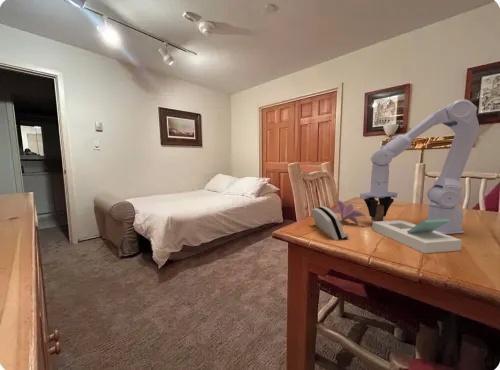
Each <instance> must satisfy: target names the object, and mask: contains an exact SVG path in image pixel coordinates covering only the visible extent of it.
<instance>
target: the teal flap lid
mask: <svg viewBox="0 0 500 370" xmlns="http://www.w3.org/2000/svg"><path fill="white" fill-rule="evenodd" d="M449 221H450V220H449V219H434V220H427V219H424V220H422V221H420V222H419V223H418V224H415V225H416V226H415V227H413V228H412V229H410V230H408V231H407V232H408V233H421V232H433V231H434V230H436V229H437V228H439V227H441V226H442V225H444V224H446V223H448V222H449Z"/></svg>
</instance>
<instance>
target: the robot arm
mask: <svg viewBox="0 0 500 370" xmlns="http://www.w3.org/2000/svg"><path fill="white" fill-rule="evenodd" d="M477 110H478V107H477V106H476V105H475V104H474V103H473V102H472V101H471V100H468V99H466V98H465V99H462V98H461V99H456V100H455V101H453V102H452V103H449V104H447V105H444V106H442V107H441V108H440V109H439V108H438V110H436V111H434V112H432V113H431V114H429V115H428V116H427V117H425V118H424V119H423V120H422V121H420V122H418V123H417V124H416V125H415V126H414V127H412V128H411V129H410V130H409V131H407V132H406V133H405V134H398V135H393V136H392V137H391V138H390V139H391V140H389V141H388V142H387V143H386V144H384V145H380V147H379V148H380V149H379V150H376V151H374V152H373V153H372V155H371V157H370V161H371V163H372V165H371V167H372V169H371V176H370V191H369V192H364V193H363V192H362V193H359V199H362V200H363V201H364V203H365V204H366V207H367V210H368V214H369V215H368V216H369V217H375V215H376V207H377V204H382V205H384V217H383V218H385V217H386V216H387V213H388V211H389V209H390V206H391V205H392V204H393V202H394V200H395V199H396V198H398V192H395V191H389V177H390V164H391V162H392V160H393V159H395V158H396V157H397V156H399V155H401V154H402V153H403V152H405V151H406V150H407V149H409V148H410V147H411V145H412V142H413V140H415V139H416V138H418V137H419V136H421V135H422V134H424V133H425V132H427V131H428V130H430V129H431V128H433V126H438V125H441V124H442V125H444V126H446V127H449V128H450V129H451V131H453V132H454V136H453V138H452V142H451V144H450V147H449V150H448V153H447V155H446V159H445V161H444V164H443V166H442V169H441V172H440V174H439V177H438V178H437V179H436V180H435V181H434V183H433V185H432V186H431V187H430V188H429V189H428V191H427V193H426V196H427V199H428V200H429V203H428V212H427V219H426V220H434V219H449V220H450V221H449V222H448V223H446V224H444V225H442V226H441V227H439V228H437V229H436V230H434V231H436V232H439V233H442V234H445V235H450V234H451V235H453V234H454V235H455V234H464V233H465V231H464V230H462V229H463V221H464V213H463V210H462V209H461V208H460V207H458V205H459V204H460V203H461V200H462V195H461V192H462V191H461V190H462V184H461V182H460V180H461V177H462V175H463V173H464V170H465V167H466V165H467V162H468V160H469V157H470V154H471V151H472V149H473V147H474V145H475V142H476V139H477V136H478V134H479V131H480V125H479V119H478V116H477ZM394 198H395V199H394ZM377 199H378V200H377Z"/></svg>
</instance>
